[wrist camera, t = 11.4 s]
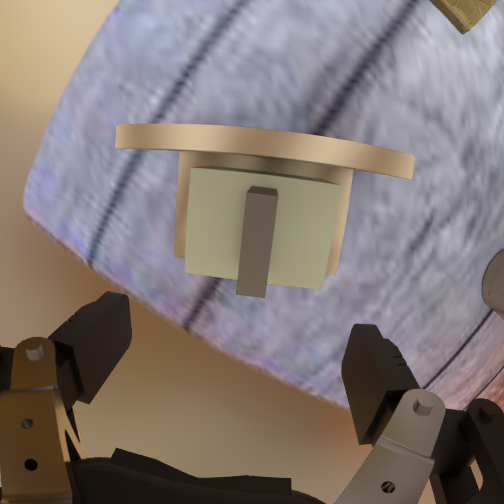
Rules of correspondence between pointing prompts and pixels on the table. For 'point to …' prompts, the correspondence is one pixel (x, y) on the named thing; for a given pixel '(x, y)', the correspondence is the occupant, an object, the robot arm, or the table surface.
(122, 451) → the robot arm
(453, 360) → the table surface
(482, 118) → the table surface
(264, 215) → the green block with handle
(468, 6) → the decorative tile
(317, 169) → the wooden stand
